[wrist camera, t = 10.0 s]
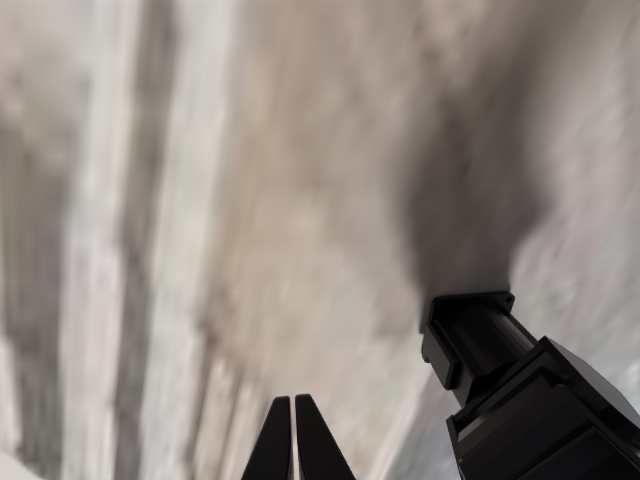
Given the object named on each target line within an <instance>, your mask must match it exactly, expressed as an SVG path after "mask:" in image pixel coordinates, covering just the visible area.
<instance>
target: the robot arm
mask: <svg viewBox="0 0 640 480" xmlns="http://www.w3.org/2000/svg"><path fill="white" fill-rule="evenodd" d="M514 300H515V296H514V295H513V294H512V293H510V292H494V293H481V294H468V295H455V296H442V297H436V298H435V299H434V300H433V301H432V305H431V310H430V316H429V321H428V323H427V325H426V329H425V334H424V340H423V345H422V348H423V354H422V358H423V360H424V361H425V362H426V363H431V365H432V367H433V369H434V371H435V373H436V374H437V376H438V378H439V380H440V382H441V384H442V386H443V387H444V388H445V389H446V390H452V392H453V394H454V395H455V397H456V399H457V401H458V403H459V404H460V406H461V408H462V409H460V410H459V411H458V412H457V413H456V414H455V415H451V416H450V417H449V418H448V419H446V423H447V427H448V431H449V435H450V438H451V442H452V446H453V450H454V454H455V458H456V462H457V466H458V470H459V474H460V477H461V480H640V415H639V414H638V413H637V412H636V411H635V409H634V408H633V407H632V406H631V404H630V403H629V402H628V401H627V400H626V398H625V397H624V396H623V395H622V393H621V392H620V391H619V390H618V389H616V388H615V387H614V386H613V385H612V384H611V383H610V382H608V381H607V380H606V379H605V378H604V377H603V376H601V375H600V374H599V373H598V372H597V371H596V370H595V369H593V368H592V367H591V366H590V365H589V364H588V363H586V362H585V361H584V360H582V359H581V358H579V357H578V356H576V355H575V354H573V353H572V352H570V351H568V350H567V349H565V348H564V347H562V346H561V345H559V344H558V343H556V342H555V341H553V340H552V339H550V338H549V337H547V336H543V337H542V338H541V339H540V340H539V341H537V340H536V339H535V338H534V337H533V336H532V335H531V334H530V333H529V332H528V331H527V330H526V329H525V328H524V327H523V326H522V325H521V324H520V323H519V322H518V321H517V320H516V319H515V318H514V317H513V316H512V315H511V314H510V312H511V309H512V306H513V303H514ZM439 303H440V304H439ZM438 304H439V305H438ZM295 408H296V427H297V445H298V461H299V477H300V480H356V479H355V477H354V475H353V473H352V471H351V470H350V468H349V466H348V464H347V462H346V460H345V458H344V456H343V455H342V453H341V451H340V449H339V447H338V445H337V443H336V441H335V440H334V438H333V436H332V434H331V432H330V430H329V428H328V426H327V425H326V423H325V421H324V419H323V417H322V415H321V413H320V411H319V410H318V408H317V406H316V404H315V402H314V400H313V398H312V397H311V395H310V394H299V395H296V396H295ZM241 480H294V461H293V439H292V418H291V404H290V397H289V396H280V397H276V398H275V399H274V400H273V402H272V405H271V407H270V410H269V412H268V415H267V417H266V420H265V422H264V424H263V427H262V429H261V432H260V434H259V437H258V439H257V441H256V444H255V446H254V449H253V451H252V454H251V456H250V459H249V461H248V463H247V466H246V468H245V471H244V473H243V476H242V478H241Z"/></svg>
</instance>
